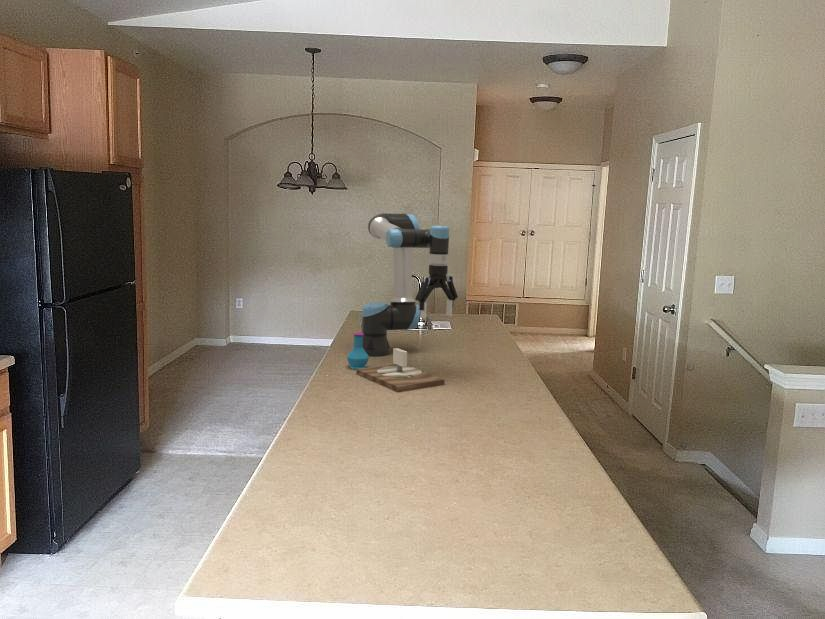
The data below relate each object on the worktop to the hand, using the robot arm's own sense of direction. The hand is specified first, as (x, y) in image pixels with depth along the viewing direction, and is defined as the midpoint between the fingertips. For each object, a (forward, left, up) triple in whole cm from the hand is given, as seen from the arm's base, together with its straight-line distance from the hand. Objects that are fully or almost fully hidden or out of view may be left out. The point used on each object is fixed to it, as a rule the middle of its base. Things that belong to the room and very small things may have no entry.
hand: (436, 317), depth 268 cm
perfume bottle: (-25, -22, -24) cm, 41 cm away
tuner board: (-1, -17, -24) cm, 29 cm away
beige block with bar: (-4, -19, -22) cm, 29 cm away
